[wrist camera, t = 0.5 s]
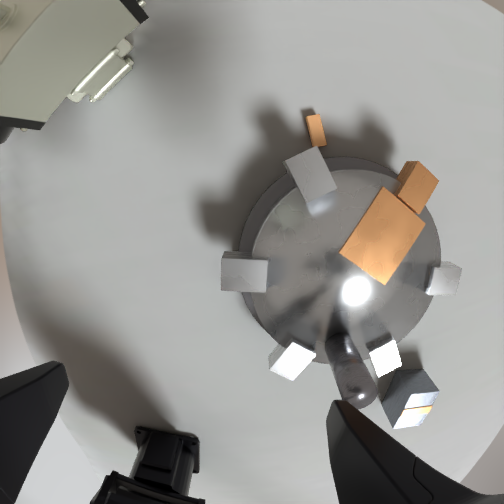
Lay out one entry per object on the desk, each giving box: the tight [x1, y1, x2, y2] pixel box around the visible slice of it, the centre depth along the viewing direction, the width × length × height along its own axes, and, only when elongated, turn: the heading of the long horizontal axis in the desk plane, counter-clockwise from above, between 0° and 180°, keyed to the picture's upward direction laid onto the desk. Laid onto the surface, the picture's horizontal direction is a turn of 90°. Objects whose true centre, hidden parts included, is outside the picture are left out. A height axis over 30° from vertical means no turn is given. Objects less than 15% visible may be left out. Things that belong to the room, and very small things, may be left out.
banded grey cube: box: [382, 369, 439, 429], centre depth 21 cm, size 4×3×4 cm
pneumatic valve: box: [0, 0, 149, 144], centre depth 10 cm, size 6×12×12 cm, turn 130°
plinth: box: [238, 114, 398, 332], centre depth 19 cm, size 16×14×1 cm
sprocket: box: [221, 146, 462, 409], centre depth 15 cm, size 14×15×7 cm
